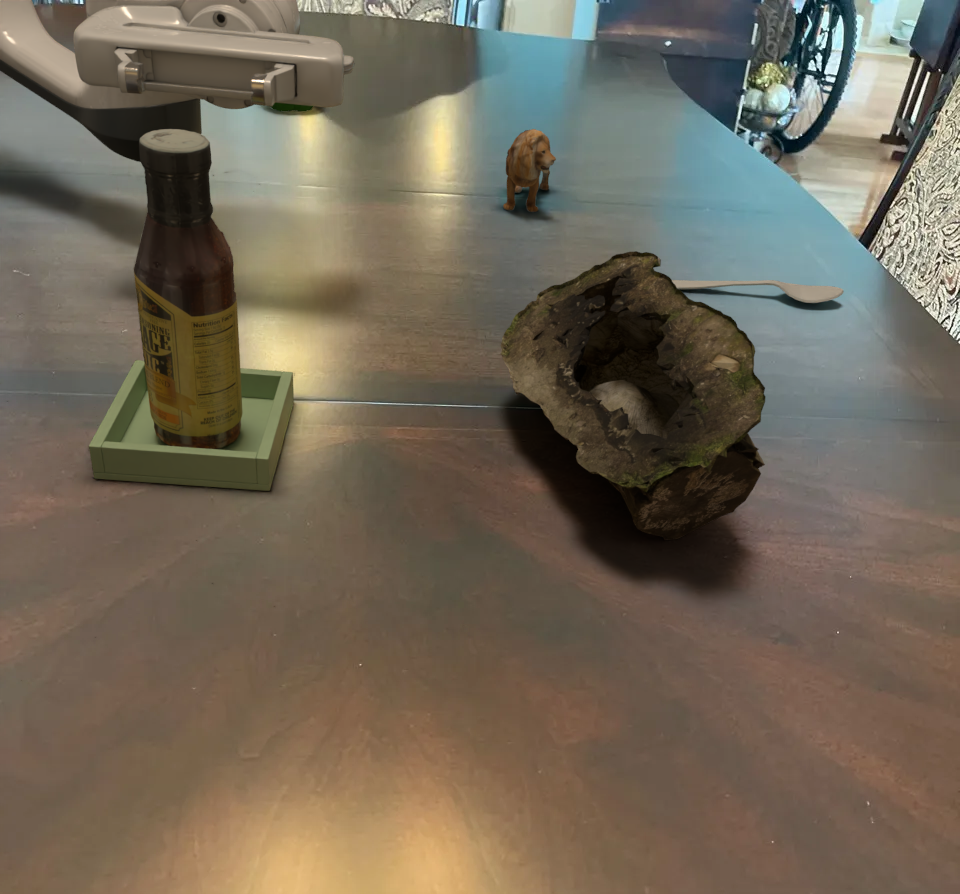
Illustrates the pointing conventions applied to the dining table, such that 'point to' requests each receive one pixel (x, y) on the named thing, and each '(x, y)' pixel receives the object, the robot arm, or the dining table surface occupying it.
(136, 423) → the green tray
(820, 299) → the spoon
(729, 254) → the dining table surface
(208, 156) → the sauce bottle
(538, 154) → the lion figurine
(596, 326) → the brown hollow wooden log
